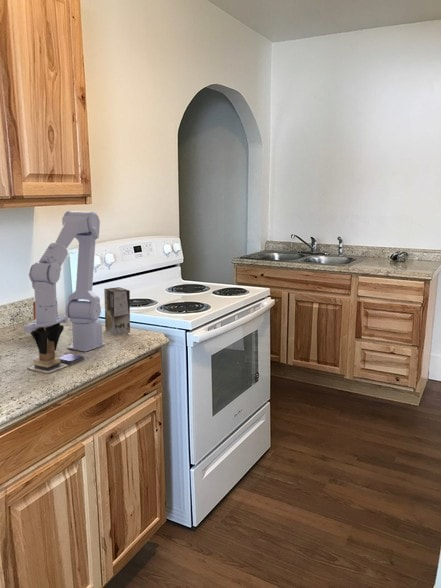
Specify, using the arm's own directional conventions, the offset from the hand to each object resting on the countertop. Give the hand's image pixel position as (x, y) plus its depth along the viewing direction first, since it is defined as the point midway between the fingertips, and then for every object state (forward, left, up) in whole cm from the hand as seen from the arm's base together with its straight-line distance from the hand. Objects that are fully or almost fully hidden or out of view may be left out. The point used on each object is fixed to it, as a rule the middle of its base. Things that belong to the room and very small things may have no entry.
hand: (47, 351), depth 141 cm
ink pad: (-7, +1, -5) cm, 9 cm away
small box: (-25, -27, -5) cm, 37 cm away
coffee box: (-41, -8, -5) cm, 43 cm away
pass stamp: (0, 0, -4) cm, 4 cm away
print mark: (0, 0, -5) cm, 5 cm away
